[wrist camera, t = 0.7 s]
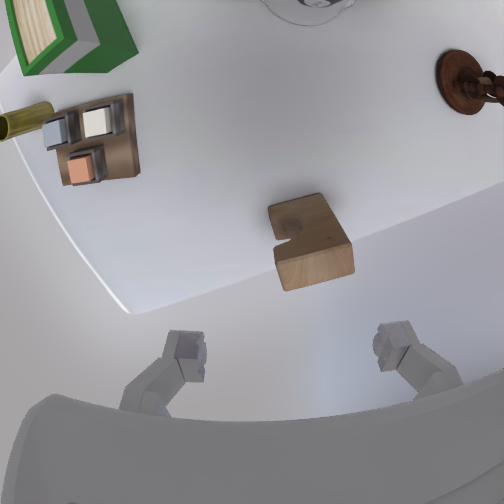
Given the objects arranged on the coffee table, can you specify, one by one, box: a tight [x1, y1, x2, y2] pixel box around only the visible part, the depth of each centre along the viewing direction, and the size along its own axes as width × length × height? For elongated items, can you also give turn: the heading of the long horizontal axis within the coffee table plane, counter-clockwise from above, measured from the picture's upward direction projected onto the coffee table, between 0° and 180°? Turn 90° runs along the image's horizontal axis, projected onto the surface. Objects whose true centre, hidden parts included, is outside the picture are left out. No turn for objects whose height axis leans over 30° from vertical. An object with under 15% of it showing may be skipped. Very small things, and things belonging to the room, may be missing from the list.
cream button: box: [83, 107, 113, 138], centre depth 39 cm, size 4×4×3 cm
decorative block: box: [268, 193, 355, 291], centre depth 48 cm, size 11×6×20 cm, turn 106°
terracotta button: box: [67, 154, 95, 184], centre depth 43 cm, size 4×4×3 cm
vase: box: [0, 102, 54, 142], centre depth 36 cm, size 6×6×14 cm
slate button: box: [42, 118, 68, 147], centre depth 39 cm, size 4×4×3 cm
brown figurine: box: [438, 50, 504, 115], centre depth 30 cm, size 15×15×20 cm
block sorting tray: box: [43, 94, 140, 186], centre depth 44 cm, size 16×18×7 cm
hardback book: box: [5, 0, 139, 76], centre depth 25 cm, size 18×7×24 cm, turn 21°
